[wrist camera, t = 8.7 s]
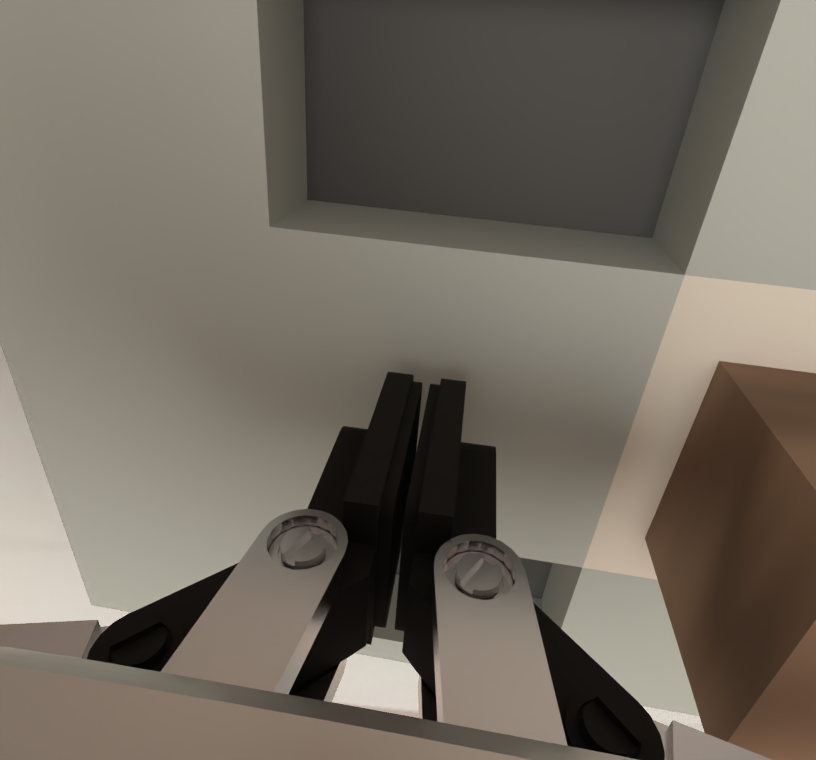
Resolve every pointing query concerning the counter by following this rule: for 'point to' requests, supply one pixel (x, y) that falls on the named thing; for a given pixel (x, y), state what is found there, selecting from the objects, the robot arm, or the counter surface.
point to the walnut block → (746, 559)
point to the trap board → (398, 266)
